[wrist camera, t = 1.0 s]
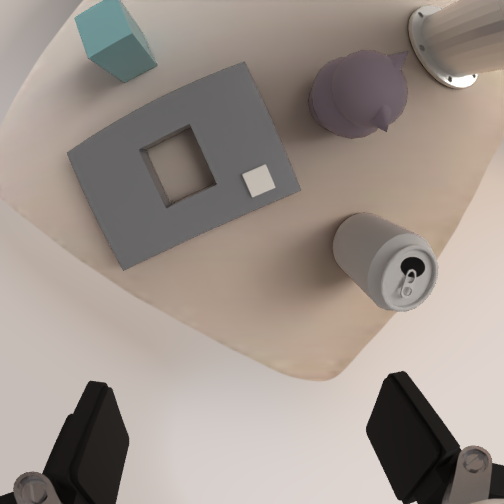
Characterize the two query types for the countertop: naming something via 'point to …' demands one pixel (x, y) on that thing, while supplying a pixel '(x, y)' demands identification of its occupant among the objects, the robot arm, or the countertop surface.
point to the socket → (214, 150)
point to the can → (386, 261)
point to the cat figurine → (359, 93)
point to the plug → (114, 40)
